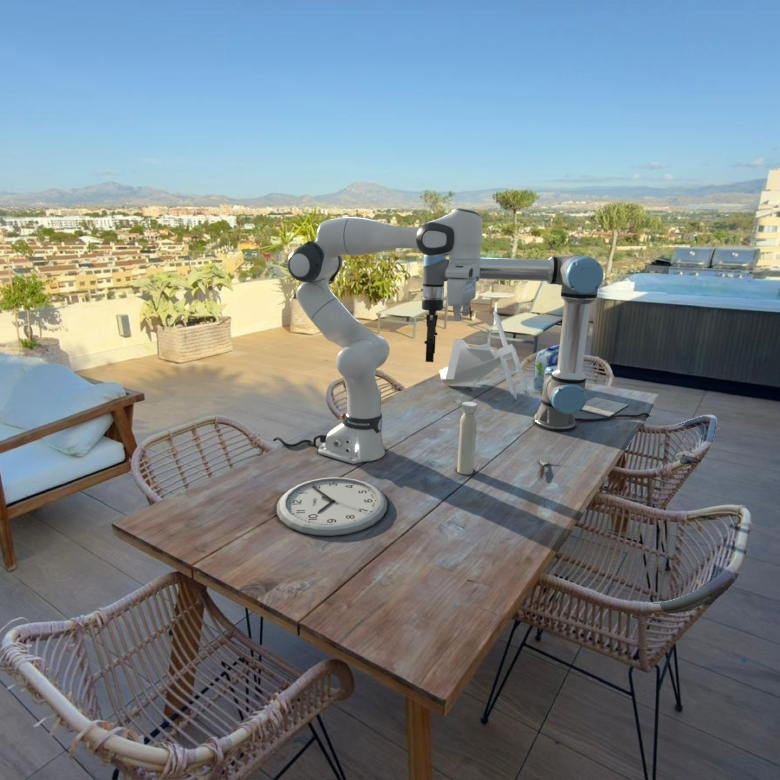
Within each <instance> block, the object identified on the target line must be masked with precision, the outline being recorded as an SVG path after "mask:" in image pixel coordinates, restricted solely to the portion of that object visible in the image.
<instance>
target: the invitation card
mask: <svg viewBox="0 0 780 780" xmlns="http://www.w3.org/2000/svg"><path fill="white" fill-rule="evenodd" d="M628 406H629V404H627V403H623V402H618V401H614V400H609V399H605V398H601V397H596V396H593V397H592V398H590V399H587V401H586V404H585V406H584V407H583V408H582V409H581V410H580V411H584V412H587V413H593V414H596V415H600V416H604V417H610V416H613V415H615V414H616V413H617V412H619V411H621V410H623V409H624V408H626V407H628Z"/></svg>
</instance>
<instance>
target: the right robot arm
mask: <svg viewBox="0 0 780 780" xmlns="http://www.w3.org/2000/svg"><path fill="white" fill-rule="evenodd" d="M422 264H423V265H422V288H420V292H421V293H422V294H421V296H422V299H421V309H422V310H423V311H428V313H426V316H425V320H426V340H424V342H423V343H424V344H425V362H426V363H434V359H435V357H434V356H435V353H436V338H437V337H436V336H438V332H437V329H436V328H437V324H438V318H439V315H438V314H437V311H438V312H439V311H442V310H444V299H443V298H444V297H445V282H447V280H448V278H446V276H445V273H446V269H447V268H448V264H449V258H447V256H443V255H442V256H428V255H425V254H423V263H422ZM480 280H495V281H497V280H499V281H500V280H501V281H526V282H527V281H531V282H546V283H547V284H548V285H557V286H561V289H560V298H561V299H562V300H563V303H564V305H563V313H562V322H561V330H560V339H559V345H560V346H559V355H558V364H557V366H553V367H547V368H546V369H545V373H544V382H543V391H541V392H542V394H541V402H540V405H539V407H538V410H537V411H536V413H535V414H534V416H533V417H534V424H535V425H536V426H537V427H539V428H542V429H544V430H549V431H556V432H567V431H572V430H574V429H575V428H576V422H599V421H607V420H611V419H616V418H639V417H643V416H646V417H647V418H651V415H650V414H649V413H648V412H641V413H638V414H613V415H611V416H609V417H608V416H604V417H596V418H577V417H576V416H575V414H576V413H579V412H580V411H582V410H581V409H582V408H583V407H584V406H585V404H586V401H588V397H587V392H586V389H585V388H586V383H587V382H586V381H587V375H586V374H585V373H584V371H583V369H584V361H585V355H586V347H587V339H588V338H587V337H588V330H589V324H590V318H591V317H590V316H591V308H592V303H593V302H594V301H596V300H597V298H598V294H599V293H598V291H599V288H601V285H602V284H603V281H604V269H603V267H602V265H601V264H600V262H599V261H597V260H596V259H595V258H594V257H592V256H587V255H581V254H574V255H573V254H572V255H565V256H551V257H549V258H548V259H545V258H544V259H543V258H542V259H541V258H540V259H539V258H501V257H500V258H497V257H496V258H495V257H494V258H492V257H481V261H480V275H479V276H478V277H476V283H477V282H479V281H480ZM575 417H576V418H575Z"/></svg>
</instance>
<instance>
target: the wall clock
mask: <svg viewBox="0 0 780 780" xmlns="http://www.w3.org/2000/svg"><path fill="white" fill-rule="evenodd" d="M387 509H388V500H387V498H386V496H385V494H384V493H383V492H382V491H381V490H380V489H379V488H377V487H376V486H374V485H372V484H371V483H369V482H365V481H362V480H359V479H355V478H349V477H338V476H337V477H335V476H333V477H332V476H331V477H322V478H317V479H312V480H307V481H305V482H302V483H299V484H297V485H295V486H293V487H292V488H290V489H288V490H287V491H286V492H285V493H284V494H283V495H281V496H280V498H279V499H278V502H277V503H276V515H277V517H278V518H279V520H280V521H281V522H282V523H283V524H285V525H286V526H287V527H288V528H290V529H293V530H295V531H297V532H299V533H303V534H308V535H312V536H327V537H328V536H329V537H331V536H332V537H333V536H342V535H350V534H352V533H356V532H361V531H363V530H366V529H368V528H369V527H372V526H373V525H375V524H376V523H378V522H379V521H380V520H381V519H382V518H383V517H384V516H385V514H386V512H387Z"/></svg>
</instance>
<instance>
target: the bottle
mask: <svg viewBox="0 0 780 780" xmlns="http://www.w3.org/2000/svg"><path fill="white" fill-rule="evenodd" d="M475 414H476V413H465V412H462V415H461V417H460V420H459V431H458V432H459V433H458V447H457V448H458V450H457V463H456V465H457V466H456V467H457V468H456V471H457V473H458V474H461V475H465V476H466V475H467V476H468V475H472V474H473V473H474V465H475V452H476V437H477V424H478V421H477V417H476V415H475Z"/></svg>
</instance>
